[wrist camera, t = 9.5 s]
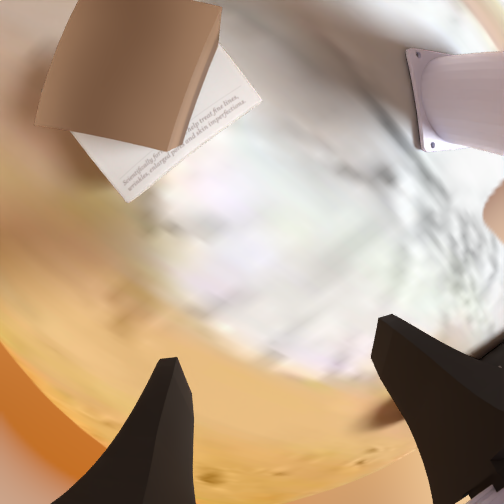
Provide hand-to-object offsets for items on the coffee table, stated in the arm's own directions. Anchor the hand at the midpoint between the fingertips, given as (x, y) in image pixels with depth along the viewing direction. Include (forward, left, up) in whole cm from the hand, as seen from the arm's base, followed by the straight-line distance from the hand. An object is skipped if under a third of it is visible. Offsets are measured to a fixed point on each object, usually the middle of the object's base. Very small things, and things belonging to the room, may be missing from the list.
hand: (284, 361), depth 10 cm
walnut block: (+3, -11, -6) cm, 12 cm away
